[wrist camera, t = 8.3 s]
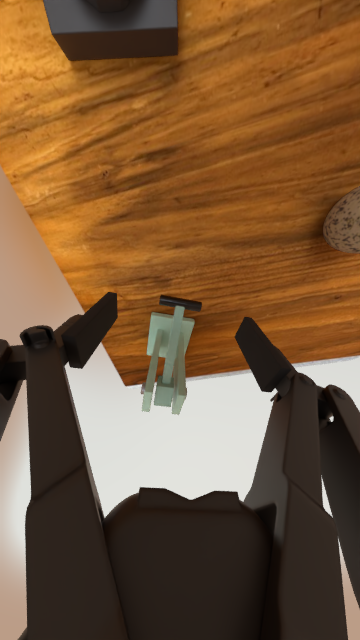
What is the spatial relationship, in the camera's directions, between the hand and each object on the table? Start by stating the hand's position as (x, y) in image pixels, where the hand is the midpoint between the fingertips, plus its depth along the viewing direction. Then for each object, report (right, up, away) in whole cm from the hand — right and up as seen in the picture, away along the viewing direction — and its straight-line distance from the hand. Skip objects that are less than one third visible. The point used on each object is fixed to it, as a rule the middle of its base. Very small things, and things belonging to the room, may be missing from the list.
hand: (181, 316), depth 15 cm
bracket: (-2, -4, +15) cm, 16 cm away
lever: (-1, -4, +5) cm, 7 cm away
